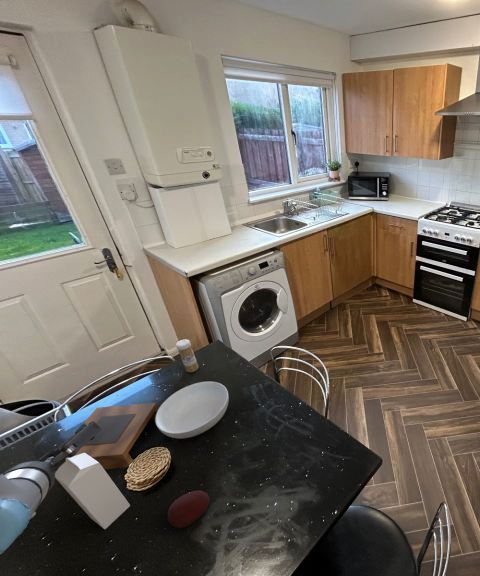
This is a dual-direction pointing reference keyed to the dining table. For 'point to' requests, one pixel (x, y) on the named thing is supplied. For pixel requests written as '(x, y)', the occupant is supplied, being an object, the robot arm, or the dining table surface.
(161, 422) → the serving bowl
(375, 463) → the dining table surface
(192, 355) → the sprinkles bottle
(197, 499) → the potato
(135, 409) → the wooden serving tray
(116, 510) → the milk
